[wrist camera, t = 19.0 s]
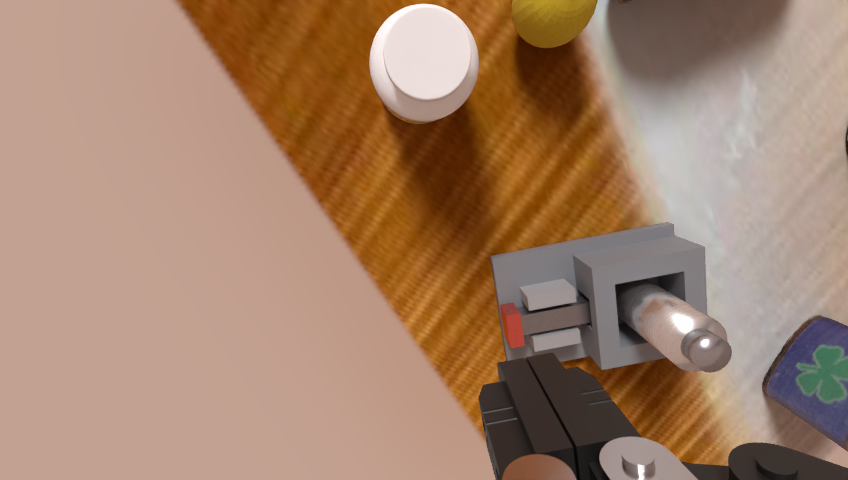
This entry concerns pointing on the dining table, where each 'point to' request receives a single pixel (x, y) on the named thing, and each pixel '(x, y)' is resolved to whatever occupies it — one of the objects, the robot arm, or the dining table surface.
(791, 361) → the flask
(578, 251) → the mount
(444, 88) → the supplement bottle
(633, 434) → the robot arm
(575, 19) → the lemon
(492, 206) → the dining table surface
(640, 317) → the salt shaker
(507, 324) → the lock pin
